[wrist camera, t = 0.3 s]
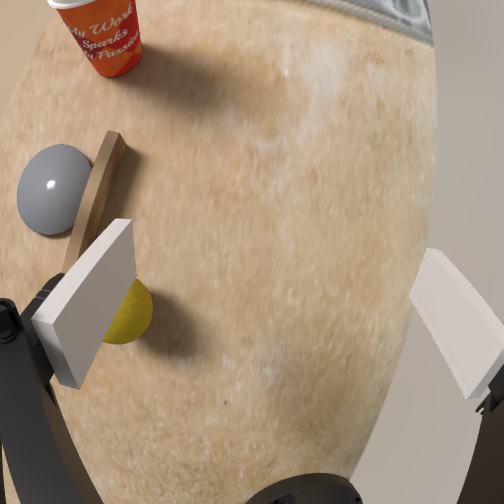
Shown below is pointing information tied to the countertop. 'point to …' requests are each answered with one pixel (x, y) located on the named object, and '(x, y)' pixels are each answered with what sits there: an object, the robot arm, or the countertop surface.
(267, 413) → the countertop surface
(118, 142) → the divider
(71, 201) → the coaster
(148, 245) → the countertop surface
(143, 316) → the lemon
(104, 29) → the paper cup
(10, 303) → the robot arm
